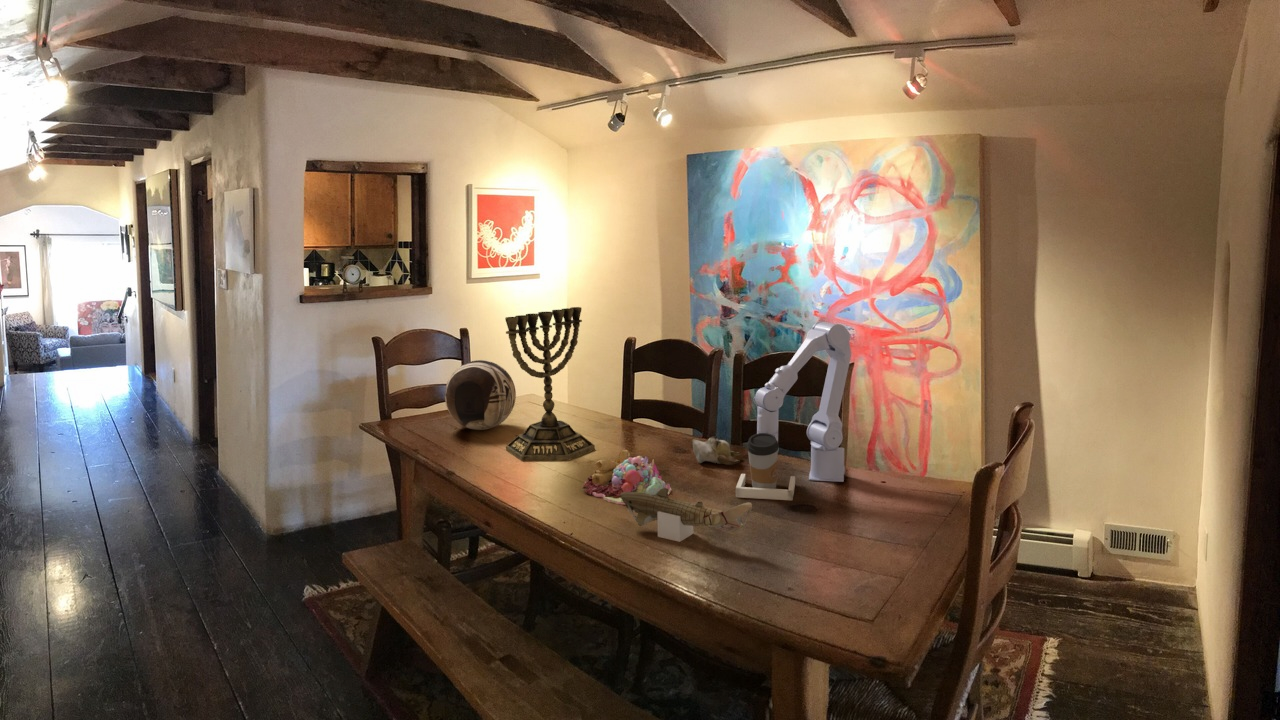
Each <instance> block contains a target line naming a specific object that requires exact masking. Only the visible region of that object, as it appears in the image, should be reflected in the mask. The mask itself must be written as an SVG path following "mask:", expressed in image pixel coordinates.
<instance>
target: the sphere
mask: <svg viewBox="0 0 1280 720" xmlns="http://www.w3.org/2000/svg"><path fill="white" fill-rule="evenodd" d="M444 389H445V390H444V402H445V406H446V408H447V411H448V412H449V414H450V416H451V418H453V420H455V422H457V423H458V424H459V425H461V426H463V427H464V428H466V429H470V430H475V431H486V430H490V429H493V428H496V427H498V426H499V425H501V424H502V423H504V421H506V420H507V419H508V417H509V416H510V415H511V413H512V411H513V409H514V407H515V404H516V398H517V394H516V393H517V392H516V386H515V383H514V381H513V379H512V377H511V375H510V373H509V372H507V370H506V369H505V368H504V367H502V366H501V365H499V364H497V363H495V362H493V361H489V360H483V359H480V360H479V359H478V360H471V361H468V362H466V363H464V364H462V365H460V366H459V367H457V368H456V369H455V370H454V371H453V372H452V373H451V375H450V376H449V378H448V381H447V382H446V385H445V388H444Z"/></svg>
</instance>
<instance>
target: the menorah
mask: <svg viewBox="0 0 1280 720" xmlns="http://www.w3.org/2000/svg"><path fill="white" fill-rule="evenodd" d="M581 313H582V307H581V306H572V307H568V308H567V307H566V308H561V309H552V310H551V311H538V313H526V314H525V315H524V314H521V315H515V316H508V317H507V316H506V317H505V322H506V323H505V324H506V326H507V329H508V330H507V331H505V334H506V335H508V339H509V344H510V347H511V351H512V356H513V358H514V359H516V362H517V365H519V367H520V369H521V370H523V371H524V372H525V373H527V374H528V375H529V376H531V377H535V378H539V379H543V383H544V387H543V391H544V395H543V397H544V399H545V400H544V401H543V403H542V406H543V409H544V411H545V413H543V415H542V416H541V421H537V422H535V423H532V424H529V426H528V427H527V428H526V429H525V431H524V432H523V433H520V434H518V435H517V436H516V437H514V439H512V440H511V441H510V442H509V443H507V445H505V451H506V452H508V453H509V454H511V455H512V456H514V457H515V458H517V459H518V460H520V461H521V462H539V461H540V462H549V461H550V462H555V461H557V462H558V461H560V462H561V461H564V462H565V461H566V462H567V461H571V460H573V459H575V458H578V457H580V456H583V455H585V454H587V453H590V452H592V451H596V450H595V448H596V447H595V444H593V443H592V442H591V441H590V440H589V439H588V438H586V437H584V436H583V435H582V434H581V433H579V432H577V431H575V430H574V429H573V428H572V426H571V424H568V423H567V422H565V421H562V420H558V418H557V416H556V414H555V413H554V412H553V410H554V408H555V402H554V401H553V400H552V398H553V395H554V394H553V392H552V391H553V386H552V383H553V379H552V377H551V376H554V375H556V374H558V373H559V372H561V371H562V370H564V368H565V367H566V365H567V364H568V363H569V361H571V359H572V358H573V353H574V350H575V349H576V347H577V346H578V343H579V342H578V338H579V331H580V329H579V328H580V325H581V324H580V323H582V322H583V320H582V319H580V317H581ZM552 318H553V319H554V322H552V324H551V321H552ZM538 320H540V322H541V324H542V325H539V327H538V326H537V324H538ZM563 320H564V321H563ZM527 324H528V325H527ZM527 326H528V327H527ZM553 326H554V329H555V333H554V335H553V337H552V341H550V336H549V332H550V330H551V328H553ZM517 327H518V329H517ZM563 327H564V329H565V330H564V334H563V335H564V336H563V339H561V335H562V332H561V331H562V330H563ZM572 327H573V330H572V338H571V339H570V341H569V338H570V333H571V329H572ZM539 329H542V333H543V341H542V343H543V344H541V341H540V340H539V339H538V337H537V334H538V333H537V331H538V330H539ZM527 332H528V333H529V335H530V340H531V344H532V345H533V347H535V348H536V349H538V351H540V352H543V353H542V357H543V358H539V357H538V356H537V355H535V353H534V352H532V348H531V347H530V346H529V344H528V341H527ZM517 335H518V337H519V338H520V342H521V345H522V349H523V353H524V354H525V355H527V357H528V358H529V360H531V361H532V362H533V363H536V364H537V363H538V364H541V365H543V366H542V369H543V371H537V370H536V369H533V368H531V367H530V366H529V365H528V363H527V361H525V360H524V359H523V357H522V352H521V351H520V350H519V347H518V344H517V340H516V339H517ZM560 341H561V342H560ZM559 342H560V346H559V347H558V350H557V351H555V353H554V354H553V355H552V353H551V351H550V350H552V349H554V348H555V347H556V346H557V344H558V343H559ZM569 342H570V343H569ZM568 345H570V346H569V347H568V349H567V352H565V349H566V348H567V346H568ZM564 352H565V354H564V358H563V360H561V362H559V363H558V364H557V366H556V367H554V368H553V367H552V364H551V363H553V362H554V361H556V360H557V359H559V358H560V357H561V356H562V353H564Z"/></svg>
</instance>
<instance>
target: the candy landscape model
mask: <svg viewBox="0 0 1280 720" xmlns="http://www.w3.org/2000/svg"><path fill="white" fill-rule="evenodd" d="M618 456H619V458H617V457H616V458H615V459H614V460H612V459H599V460H598V461H597V462H595V463H594V466H595V467H596V469H597V470H595V471H594V473H593V474H592V475H590V476H589V477H587V481H584V485H583V487H582V488H581V489H582V490H584V489H586V490H585V491H584V493H586V494H587V495H590V496H591V495H592V496H594V497H596V498H602V499H603V501H607V502H608V503H613V504H617V505H622V506H623V505H625V506H626V504H625V503H624V502H623V500H622V499H621V497H620V494H621V493H622V492H638V493H639V492H642V493H646V494H651V495H652V494H654V495H655V494H656V493H657V492H658V491H659V490H660V489H662V488H667V489H668V496H669V495H670V493H672V488H671V484H669V483H668V482H667V484H666V482H665V481H664V480H662V479H663V477H662V476H661V475H659V474H660V471H659V470H658V467H657V464H655V460H654V459H652V462H650V463H649V458H648V457H647V456H645V457H643V456H642V455H637V456H635V457H631V453H630V451H629V450H627V449H621V450H620V451H619V455H618Z"/></svg>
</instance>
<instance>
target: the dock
mask: <svg viewBox="0 0 1280 720" xmlns="http://www.w3.org/2000/svg"><path fill="white" fill-rule="evenodd" d="M746 478H747V477H746V473H741V474H740V476H739V479H738V481H737V483H736V486H735V498H745V499H763V500H775V501H776V500H777V501H778V500H780V501H794V494H795V488H796V487H795V486H796V476H794V475H791V476H790V479H789V484H788V489H783V488H775V489H769V488H753V487H750V486H749V487H746V486H745V485H746V483H745V482H747V481H746Z"/></svg>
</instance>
